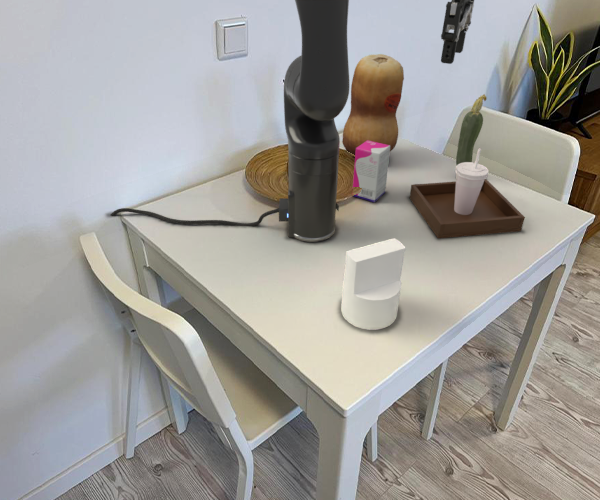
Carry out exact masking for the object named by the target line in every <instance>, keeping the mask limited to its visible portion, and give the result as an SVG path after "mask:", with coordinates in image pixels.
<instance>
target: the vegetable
mask: <svg viewBox="0 0 600 500" xmlns="http://www.w3.org/2000/svg"><path fill="white" fill-rule="evenodd" d="M487 99H488V97H487V95H486V94H485V93H483V94H482V95H480V96H479V97H478V98H476V100H474V102H473V104H472V107H471V109H470V111H468V112H467V113H466V114H465V115H464V117H463V119H462V122H461V125H460V130H459V131H460V132H459V138H458V144H457V151H456V156H455V167H456V166H457V165H458V164H460V163H463V162H473V154H474V147H475V144H476V142H477V139H478V138H479V135H480V133H481V130H482V128H483V124H484V116H483V114H482V113H481V110H482V108H483V104H484V102H485V101H487Z"/></svg>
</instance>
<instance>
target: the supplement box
mask: <svg viewBox="0 0 600 500" xmlns="http://www.w3.org/2000/svg"><path fill="white" fill-rule="evenodd" d="M390 153H391V151H390V145H386V144H381V143H377V142H373V141H368V140H367V141H366V142H364V143H363V144H361V145H360V146H358V147H357V148H356V151H355V158H354V167H353V178H352V179H353V180H352V188H353V187H360V188H362V190H361V192H360V193H358V194H356V195H354V196H353V197H354V198H358V199H361V200H364V201H367V202H371V203H376V202H377V201H378V200H379V199H380V198H382V196H383V195H384V194H386V189H387V180H388V172H389V161H390Z"/></svg>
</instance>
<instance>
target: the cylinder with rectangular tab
mask: <svg viewBox="0 0 600 500" xmlns="http://www.w3.org/2000/svg"><path fill="white" fill-rule="evenodd" d="M405 252H406V246H405V245H404V244H403V243H402V242H401V241H400V240H398V239H397V238H395V237H393V238H389V239H385V240H382V241H379V242H375V243H372V244H368V245H364V246H361V247H356V248H353V249H349V250H346V251H345V262H344V275H343V278H342V288H341V289H342V290H341V302H340V303H341V305H340V311H341V315H342V316H343V318H344V320H345V321H346V322H348V323H349V324H351V325H352V326H354V327H356V328H358V329H362V330H368V331H377V330H378V331H379V330H382V329H385V328H387V327H389V326H391V325H392V324H393V323H394V322H395V321H396V319H397V316H398V310H399V303H400V296H401V291H402V272H403V266H404V258H405Z"/></svg>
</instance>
